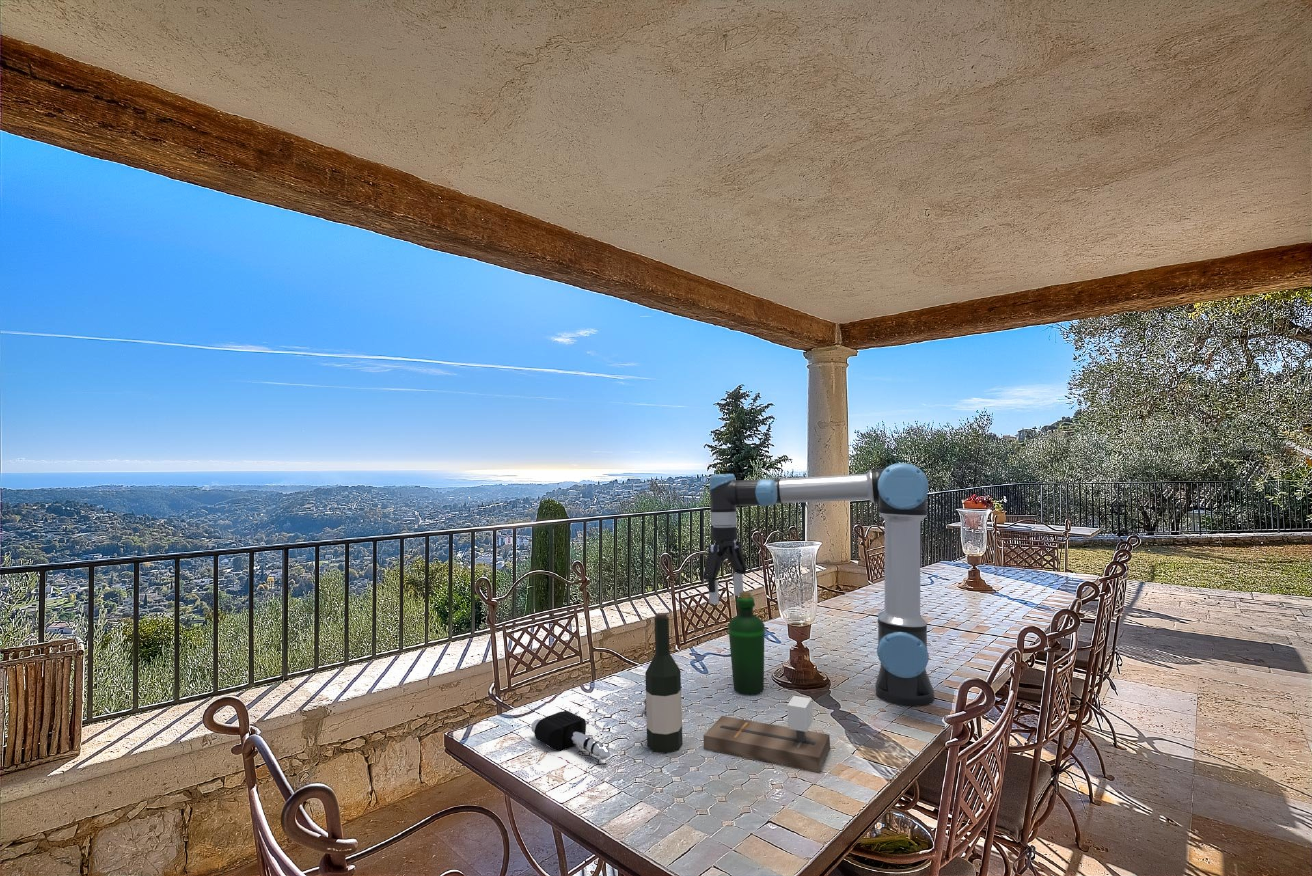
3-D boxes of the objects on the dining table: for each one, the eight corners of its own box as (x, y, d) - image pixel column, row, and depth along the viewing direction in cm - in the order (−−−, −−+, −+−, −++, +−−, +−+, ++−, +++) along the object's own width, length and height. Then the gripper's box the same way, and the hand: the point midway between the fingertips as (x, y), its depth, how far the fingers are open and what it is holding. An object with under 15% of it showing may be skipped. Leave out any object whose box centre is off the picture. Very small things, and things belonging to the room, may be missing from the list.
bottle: (765, 684, 170) (761, 589, 172) (769, 698, 159) (765, 596, 161) (729, 684, 171) (726, 590, 173) (731, 697, 160) (727, 596, 163)
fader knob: (813, 736, 127) (811, 698, 128) (807, 747, 122) (805, 707, 123) (795, 733, 129) (793, 695, 130) (788, 744, 124) (787, 705, 124)
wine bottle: (645, 738, 136) (642, 610, 138) (680, 736, 136) (676, 609, 139) (648, 754, 127) (645, 618, 130) (685, 752, 128) (681, 617, 131)
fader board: (830, 748, 128) (829, 734, 129) (819, 772, 118) (818, 757, 118) (722, 728, 140) (722, 715, 140) (703, 748, 129) (703, 734, 130)
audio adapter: (565, 704, 144) (628, 734, 126) (566, 726, 144) (629, 759, 126) (527, 717, 137) (588, 750, 119) (528, 740, 137) (589, 777, 118)
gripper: (734, 523, 179) (737, 591, 177) (689, 529, 160) (691, 605, 158) (755, 523, 174) (758, 593, 173) (711, 529, 155) (714, 608, 153)
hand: (726, 599), depth 165 cm, fingers open, 13 cm apart
